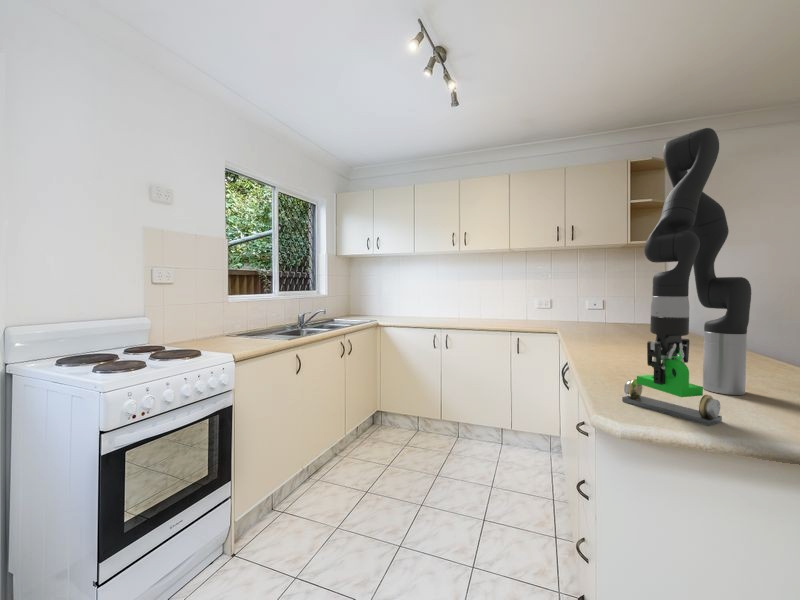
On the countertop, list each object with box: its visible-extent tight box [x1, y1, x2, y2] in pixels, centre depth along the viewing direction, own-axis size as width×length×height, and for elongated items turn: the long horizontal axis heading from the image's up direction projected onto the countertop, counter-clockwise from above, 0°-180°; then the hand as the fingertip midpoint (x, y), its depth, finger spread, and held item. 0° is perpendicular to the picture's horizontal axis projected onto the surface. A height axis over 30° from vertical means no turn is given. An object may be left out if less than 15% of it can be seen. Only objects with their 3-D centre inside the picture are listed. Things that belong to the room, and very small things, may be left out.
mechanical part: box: [636, 360, 704, 398], centre depth 88 cm, size 12×6×8 cm, turn 12°
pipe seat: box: [621, 378, 723, 427], centre depth 88 cm, size 6×19×6 cm, turn 26°
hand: (667, 381), depth 88 cm, fingers closed on mechanical part, 7 cm apart
